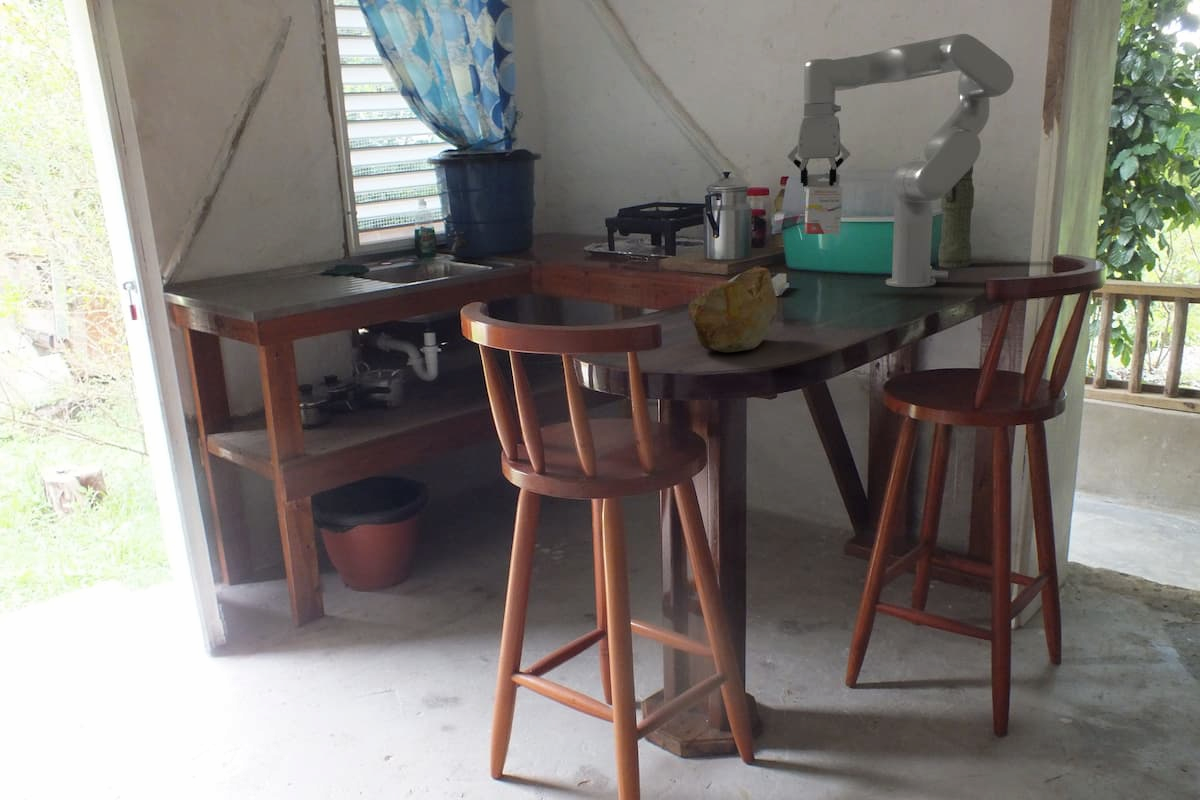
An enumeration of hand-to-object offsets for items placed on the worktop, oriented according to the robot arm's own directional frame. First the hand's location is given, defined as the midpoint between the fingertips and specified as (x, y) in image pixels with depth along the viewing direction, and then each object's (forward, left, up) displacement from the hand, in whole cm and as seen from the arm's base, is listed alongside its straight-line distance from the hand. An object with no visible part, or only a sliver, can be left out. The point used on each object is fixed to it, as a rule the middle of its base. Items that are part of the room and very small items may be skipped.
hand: (818, 185), depth 244 cm
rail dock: (+16, 0, -27) cm, 32 cm away
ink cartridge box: (-1, 0, -12) cm, 12 cm away
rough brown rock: (+8, +68, -28) cm, 73 cm away
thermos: (-32, -49, -28) cm, 65 cm away
